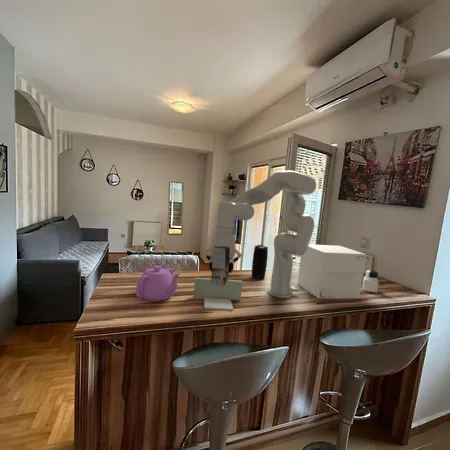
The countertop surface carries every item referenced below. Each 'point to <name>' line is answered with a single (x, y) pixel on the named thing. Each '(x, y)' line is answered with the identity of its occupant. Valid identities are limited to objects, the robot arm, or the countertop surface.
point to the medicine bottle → (370, 281)
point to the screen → (217, 289)
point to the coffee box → (220, 266)
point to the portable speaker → (259, 261)
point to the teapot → (156, 284)
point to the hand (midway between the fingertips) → (220, 271)
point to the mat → (218, 304)
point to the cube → (331, 271)
